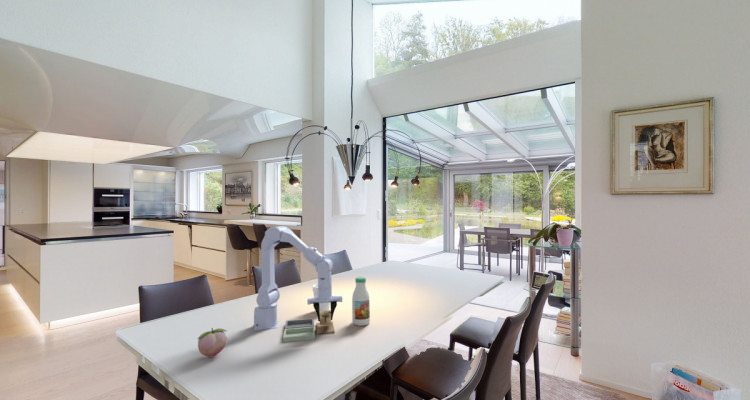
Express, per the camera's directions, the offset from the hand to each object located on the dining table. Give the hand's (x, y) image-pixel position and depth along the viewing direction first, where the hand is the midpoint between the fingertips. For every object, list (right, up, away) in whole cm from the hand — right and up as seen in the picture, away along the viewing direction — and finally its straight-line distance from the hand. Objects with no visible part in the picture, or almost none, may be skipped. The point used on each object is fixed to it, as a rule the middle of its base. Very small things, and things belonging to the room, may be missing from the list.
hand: (325, 320), depth 134 cm
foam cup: (-5, -5, +23) cm, 24 cm away
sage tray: (-9, -4, -7) cm, 12 cm away
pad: (0, -4, 0) cm, 4 cm away
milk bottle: (+15, -4, +7) cm, 17 cm away
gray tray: (-11, -4, +3) cm, 12 cm away
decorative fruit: (-36, -4, -23) cm, 43 cm away
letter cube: (0, -1, 0) cm, 1 cm away
